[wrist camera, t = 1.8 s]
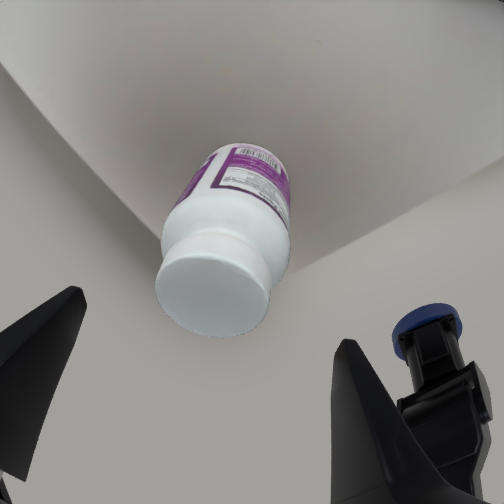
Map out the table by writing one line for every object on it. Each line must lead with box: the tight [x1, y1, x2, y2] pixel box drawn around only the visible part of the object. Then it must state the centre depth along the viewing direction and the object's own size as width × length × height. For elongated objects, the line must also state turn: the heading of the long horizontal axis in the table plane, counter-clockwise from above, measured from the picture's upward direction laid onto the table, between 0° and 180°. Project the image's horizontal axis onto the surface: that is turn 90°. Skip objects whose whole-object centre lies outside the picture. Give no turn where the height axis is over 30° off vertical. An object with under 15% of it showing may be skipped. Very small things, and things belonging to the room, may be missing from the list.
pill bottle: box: [155, 143, 290, 337], centre depth 14 cm, size 5×5×10 cm
